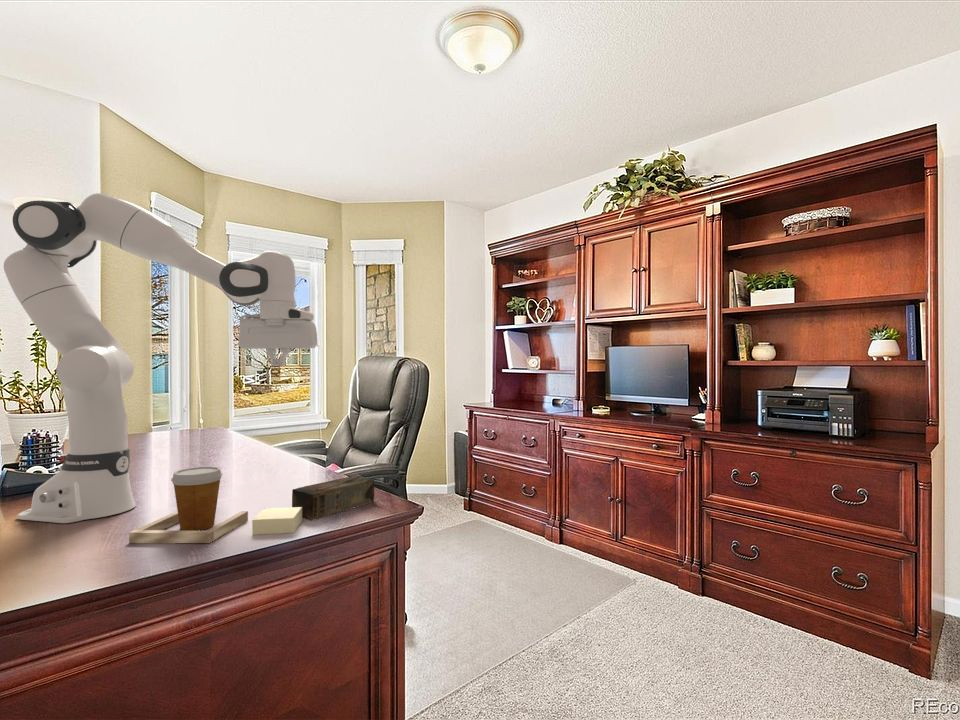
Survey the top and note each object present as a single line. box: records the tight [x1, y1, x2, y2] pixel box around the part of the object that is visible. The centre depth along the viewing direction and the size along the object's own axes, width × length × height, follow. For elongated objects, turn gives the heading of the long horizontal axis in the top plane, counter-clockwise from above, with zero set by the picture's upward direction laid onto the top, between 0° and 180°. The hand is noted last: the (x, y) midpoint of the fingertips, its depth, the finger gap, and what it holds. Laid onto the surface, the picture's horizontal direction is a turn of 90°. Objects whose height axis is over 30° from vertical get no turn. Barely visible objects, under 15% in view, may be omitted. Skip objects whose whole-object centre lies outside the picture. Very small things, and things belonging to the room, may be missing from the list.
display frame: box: [128, 510, 249, 544], centre depth 104 cm, size 16×14×2 cm
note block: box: [251, 506, 303, 536], centre depth 106 cm, size 8×8×3 cm
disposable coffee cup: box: [170, 466, 223, 531], centre depth 106 cm, size 10×10×12 cm
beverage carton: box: [291, 474, 375, 522], centre depth 119 cm, size 8×19×7 cm, turn 145°
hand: (278, 365), depth 132 cm, fingers closed
